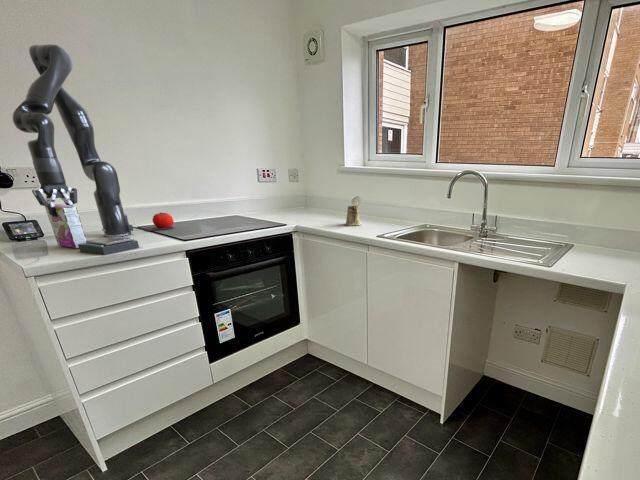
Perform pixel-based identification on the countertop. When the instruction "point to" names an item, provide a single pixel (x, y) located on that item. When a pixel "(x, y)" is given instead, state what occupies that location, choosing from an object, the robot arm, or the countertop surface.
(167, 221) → the tomato
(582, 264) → the countertop surface
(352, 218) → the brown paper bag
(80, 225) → the candy bar box
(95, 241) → the gray square plate
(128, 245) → the scale
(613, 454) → the countertop surface
